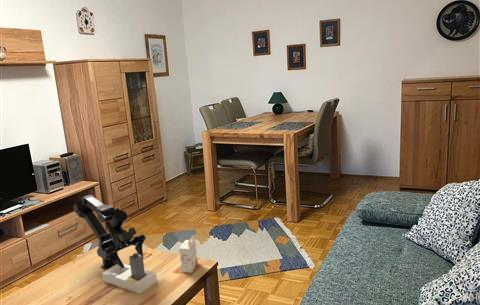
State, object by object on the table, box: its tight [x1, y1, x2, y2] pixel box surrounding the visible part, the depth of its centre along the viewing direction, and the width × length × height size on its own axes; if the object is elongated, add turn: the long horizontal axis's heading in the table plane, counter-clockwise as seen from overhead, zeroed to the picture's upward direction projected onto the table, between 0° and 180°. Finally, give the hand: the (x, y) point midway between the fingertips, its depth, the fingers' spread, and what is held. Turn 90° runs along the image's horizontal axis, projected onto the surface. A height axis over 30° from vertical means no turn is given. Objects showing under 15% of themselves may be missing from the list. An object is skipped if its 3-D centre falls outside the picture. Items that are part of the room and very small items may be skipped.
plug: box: [128, 252, 145, 281], centre depth 164 cm, size 4×4×14 cm
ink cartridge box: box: [178, 234, 198, 274], centre depth 175 cm, size 9×5×15 cm, turn 168°
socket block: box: [101, 262, 158, 294], centre depth 168 cm, size 22×10×4 cm, turn 59°
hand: (133, 263), depth 165 cm, fingers open, 9 cm apart
